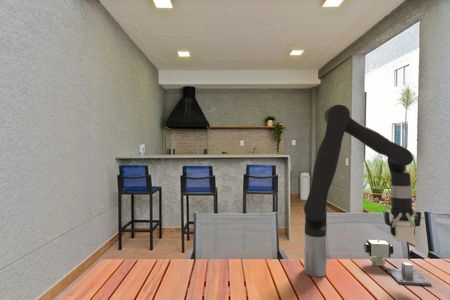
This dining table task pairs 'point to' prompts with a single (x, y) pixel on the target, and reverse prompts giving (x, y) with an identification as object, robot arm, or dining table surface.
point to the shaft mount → (408, 275)
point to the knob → (404, 231)
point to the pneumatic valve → (378, 251)
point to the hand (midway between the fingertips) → (402, 235)
